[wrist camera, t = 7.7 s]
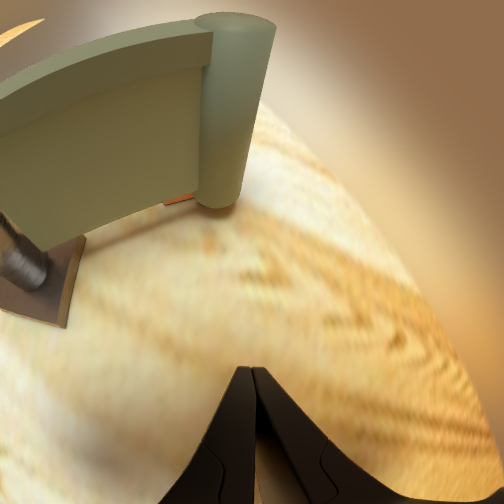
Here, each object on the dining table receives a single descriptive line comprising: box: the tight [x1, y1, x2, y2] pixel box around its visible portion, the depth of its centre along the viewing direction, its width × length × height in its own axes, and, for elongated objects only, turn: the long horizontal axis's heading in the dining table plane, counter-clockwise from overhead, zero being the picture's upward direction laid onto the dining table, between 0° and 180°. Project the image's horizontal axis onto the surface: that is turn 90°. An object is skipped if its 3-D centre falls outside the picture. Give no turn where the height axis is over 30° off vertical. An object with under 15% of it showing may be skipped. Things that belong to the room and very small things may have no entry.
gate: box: [0, 12, 276, 252], centre depth 11 cm, size 12×3×10 cm, turn 117°
